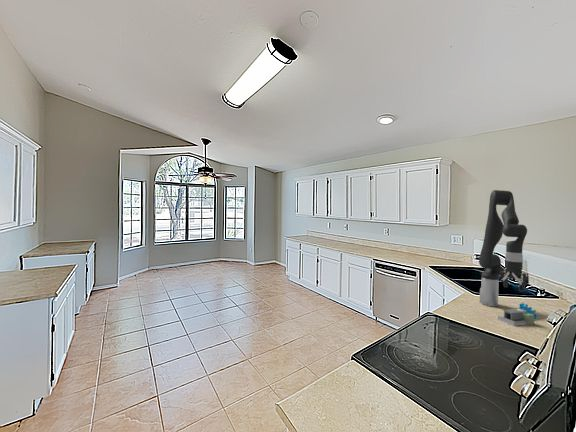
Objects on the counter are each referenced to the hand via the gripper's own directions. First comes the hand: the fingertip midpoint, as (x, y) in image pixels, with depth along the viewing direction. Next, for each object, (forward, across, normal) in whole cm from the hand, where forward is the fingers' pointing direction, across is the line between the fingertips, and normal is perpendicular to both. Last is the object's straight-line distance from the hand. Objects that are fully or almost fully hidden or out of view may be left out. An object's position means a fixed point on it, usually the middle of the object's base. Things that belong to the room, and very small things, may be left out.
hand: (513, 289), depth 156 cm
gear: (+18, +3, -15) cm, 24 cm away
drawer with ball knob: (+18, 0, -1) cm, 18 cm away
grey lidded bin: (+17, 0, 0) cm, 17 cm away
